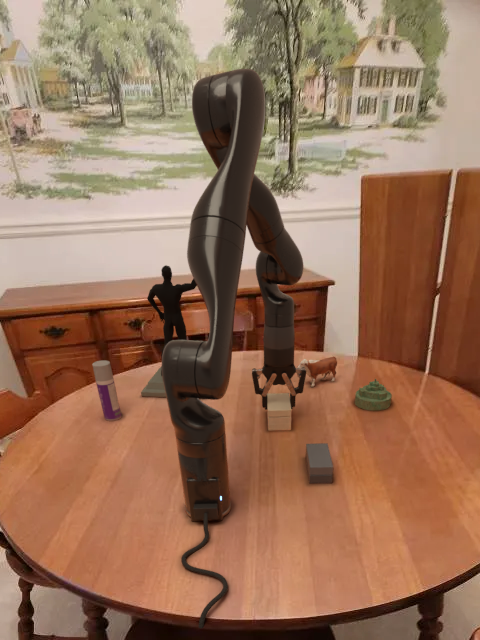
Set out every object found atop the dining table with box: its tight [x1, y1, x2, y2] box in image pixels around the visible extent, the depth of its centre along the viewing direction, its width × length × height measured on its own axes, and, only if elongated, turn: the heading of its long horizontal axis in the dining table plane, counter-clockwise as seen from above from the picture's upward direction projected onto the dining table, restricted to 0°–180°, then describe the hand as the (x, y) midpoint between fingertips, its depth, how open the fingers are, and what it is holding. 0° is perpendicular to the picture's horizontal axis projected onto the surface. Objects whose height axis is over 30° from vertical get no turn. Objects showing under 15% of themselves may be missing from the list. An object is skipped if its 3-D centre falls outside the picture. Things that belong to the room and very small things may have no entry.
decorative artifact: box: [354, 378, 393, 412], centre depth 137 cm, size 10×7×10 cm
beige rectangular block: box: [266, 392, 292, 418], centre depth 129 cm, size 11×6×2 cm, turn 0°
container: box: [91, 359, 122, 422], centre depth 131 cm, size 5×5×15 cm
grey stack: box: [304, 442, 334, 485], centre depth 110 cm, size 11×5×4 cm, turn 0°
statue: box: [140, 264, 197, 398], centre depth 142 cm, size 20×19×36 cm
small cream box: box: [266, 411, 292, 432], centre depth 130 cm, size 11×6×4 cm, turn 0°
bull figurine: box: [296, 356, 338, 388], centre depth 149 cm, size 4×13×8 cm, turn 115°
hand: (278, 408), depth 129 cm, fingers closed on beige rectangular block, 6 cm apart
